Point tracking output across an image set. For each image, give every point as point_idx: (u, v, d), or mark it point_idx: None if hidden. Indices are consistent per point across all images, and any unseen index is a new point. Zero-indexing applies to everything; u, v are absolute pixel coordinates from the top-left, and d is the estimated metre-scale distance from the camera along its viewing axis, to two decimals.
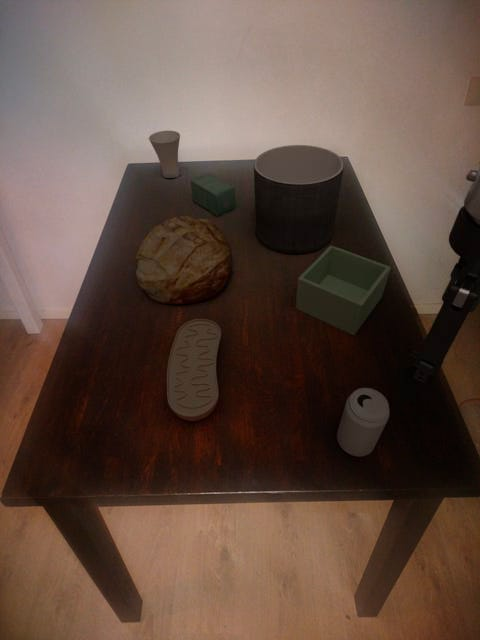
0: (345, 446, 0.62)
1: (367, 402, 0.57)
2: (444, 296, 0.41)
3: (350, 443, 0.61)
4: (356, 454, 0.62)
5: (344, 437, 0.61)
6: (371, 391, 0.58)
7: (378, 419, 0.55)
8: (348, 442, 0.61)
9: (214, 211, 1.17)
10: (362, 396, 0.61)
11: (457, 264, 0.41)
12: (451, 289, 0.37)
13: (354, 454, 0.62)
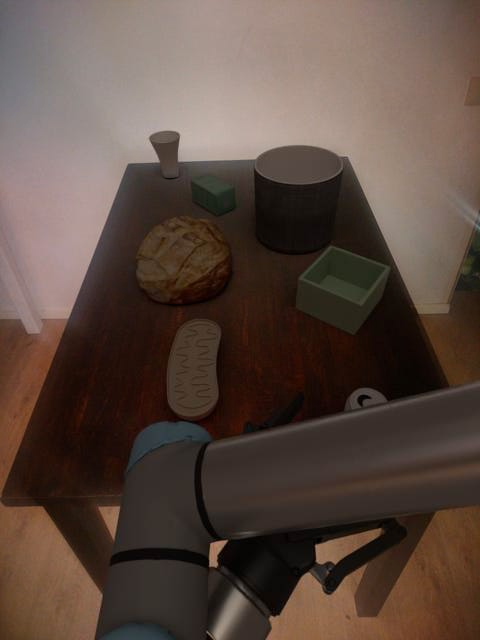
0: None
1: (367, 402, 0.57)
2: (321, 543, 0.40)
3: None
4: None
5: None
6: (371, 391, 0.58)
7: None
8: None
9: (214, 211, 1.17)
10: (362, 396, 0.61)
11: None
12: None
13: None
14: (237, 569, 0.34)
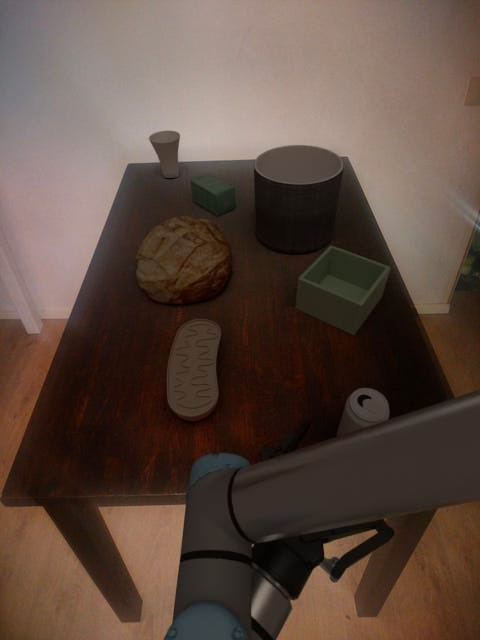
0: None
1: (367, 402, 0.57)
2: (328, 542, 0.51)
3: None
4: None
5: None
6: (371, 391, 0.58)
7: (378, 419, 0.55)
8: None
9: (214, 211, 1.17)
10: (362, 396, 0.61)
11: None
12: None
13: None
14: (264, 564, 0.45)
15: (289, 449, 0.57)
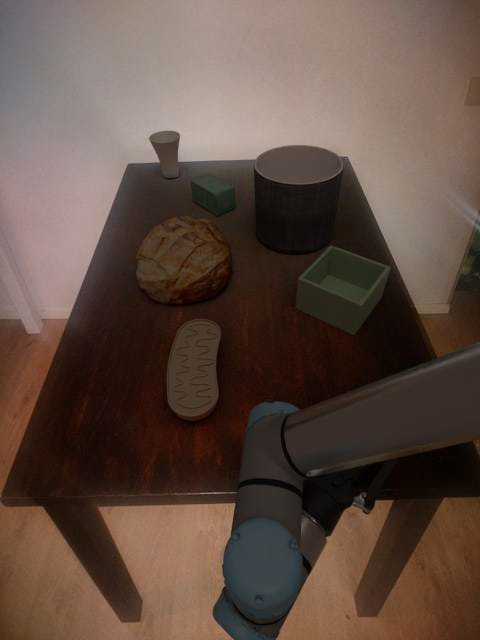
0: None
1: None
2: None
3: None
4: None
5: None
6: None
7: None
8: None
9: (214, 211, 1.17)
10: None
11: None
12: None
13: None
14: (301, 502, 0.49)
15: None
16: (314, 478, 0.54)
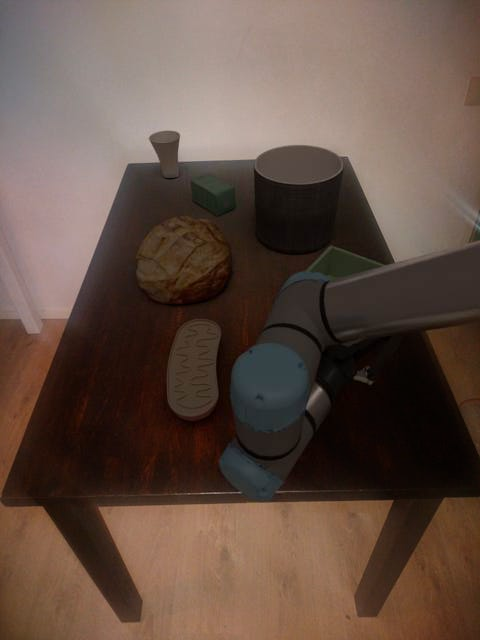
0: None
1: None
2: (355, 362, 0.57)
3: None
4: None
5: None
6: None
7: None
8: None
9: (214, 211, 1.17)
10: None
11: None
12: None
13: None
14: None
15: None
16: None
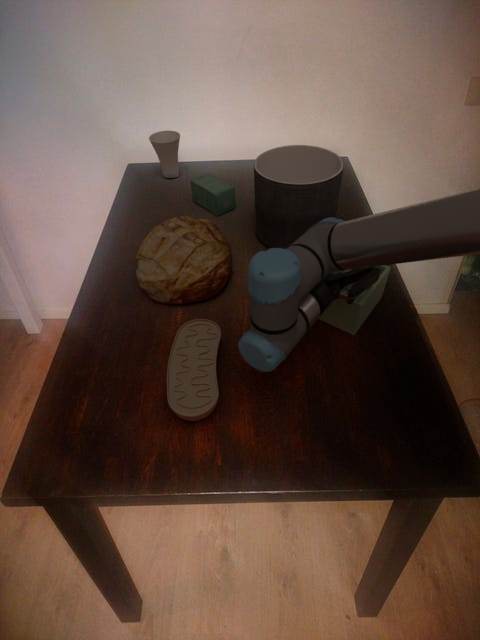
0: None
1: None
2: (341, 288, 0.74)
3: None
4: None
5: None
6: None
7: None
8: None
9: (214, 211, 1.17)
10: None
11: None
12: (351, 303, 0.70)
13: None
14: None
15: None
16: None
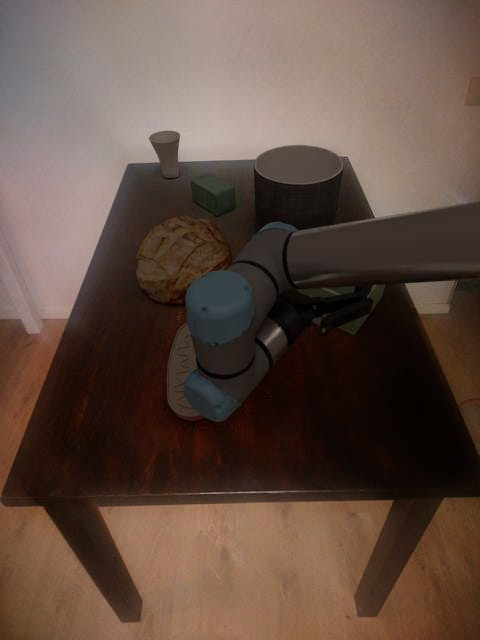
0: None
1: None
2: (318, 316, 0.61)
3: None
4: None
5: None
6: None
7: None
8: None
9: (214, 211, 1.17)
10: None
11: None
12: (324, 335, 0.57)
13: None
14: None
15: None
16: (282, 301, 0.60)
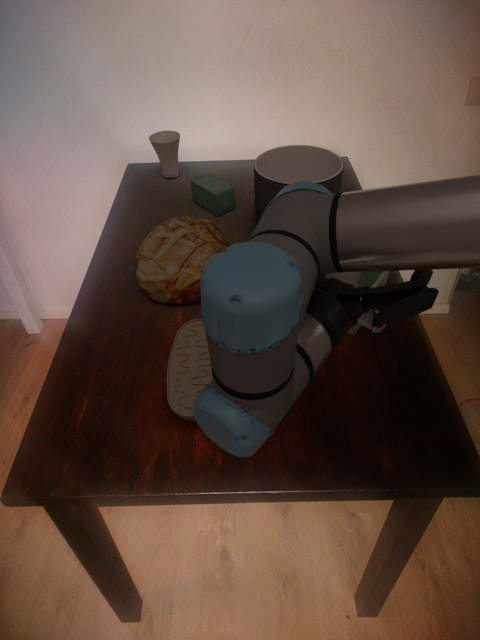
0: None
1: None
2: (365, 311, 0.47)
3: None
4: None
5: None
6: None
7: None
8: None
9: (214, 211, 1.17)
10: None
11: None
12: (377, 336, 0.44)
13: None
14: None
15: None
16: None
